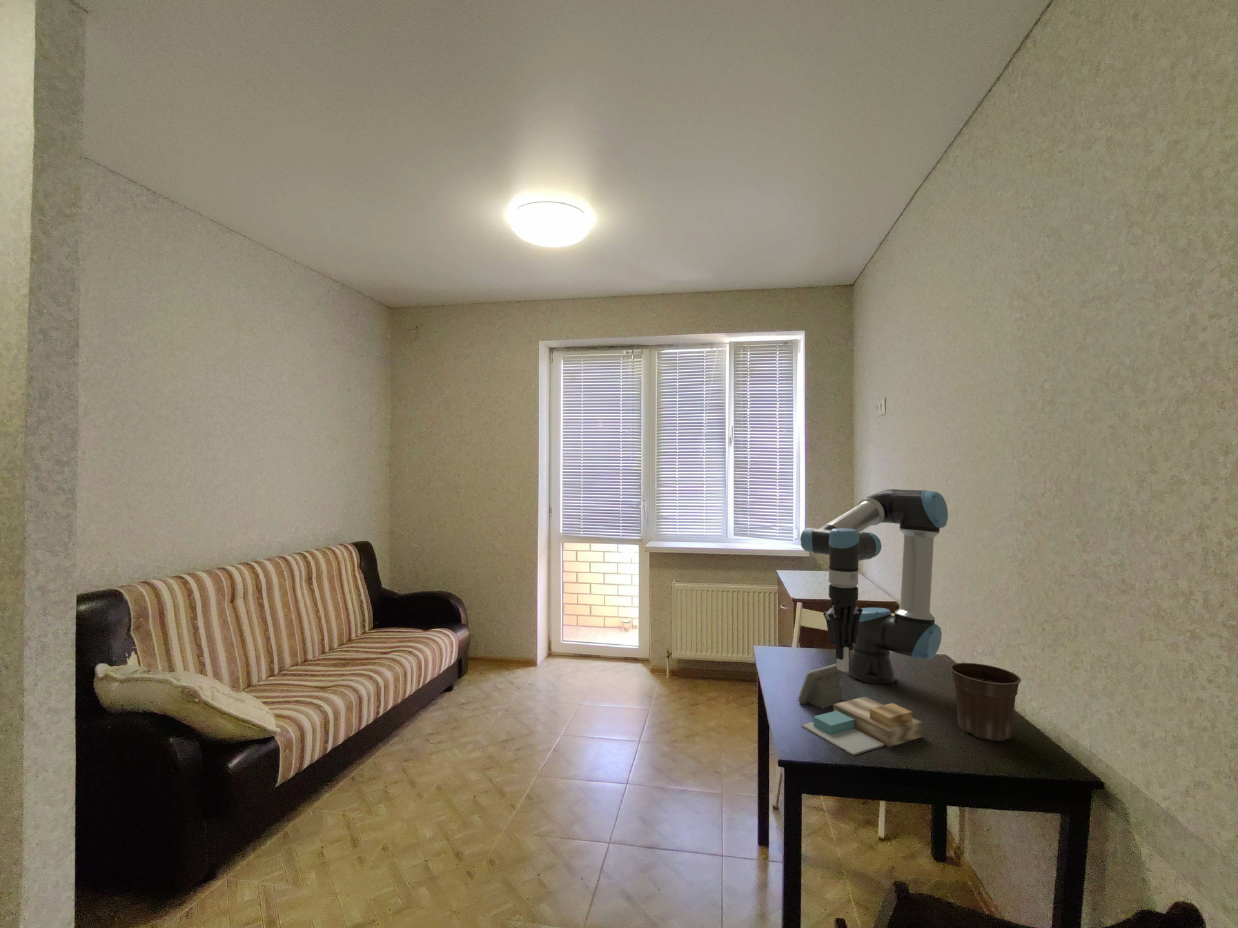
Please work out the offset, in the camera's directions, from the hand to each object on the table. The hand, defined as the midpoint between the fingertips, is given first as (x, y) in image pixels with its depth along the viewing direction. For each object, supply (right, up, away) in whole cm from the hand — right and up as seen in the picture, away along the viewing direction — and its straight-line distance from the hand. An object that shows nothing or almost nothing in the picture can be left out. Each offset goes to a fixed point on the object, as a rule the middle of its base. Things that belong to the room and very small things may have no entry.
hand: (842, 669), depth 155 cm
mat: (-3, -15, -6) cm, 17 cm away
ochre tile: (+11, -12, -4) cm, 17 cm away
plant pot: (+38, -16, -1) cm, 41 cm away
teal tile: (-3, -15, -2) cm, 15 cm away
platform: (+9, -16, 0) cm, 18 cm away
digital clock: (0, -16, +17) cm, 23 cm away
